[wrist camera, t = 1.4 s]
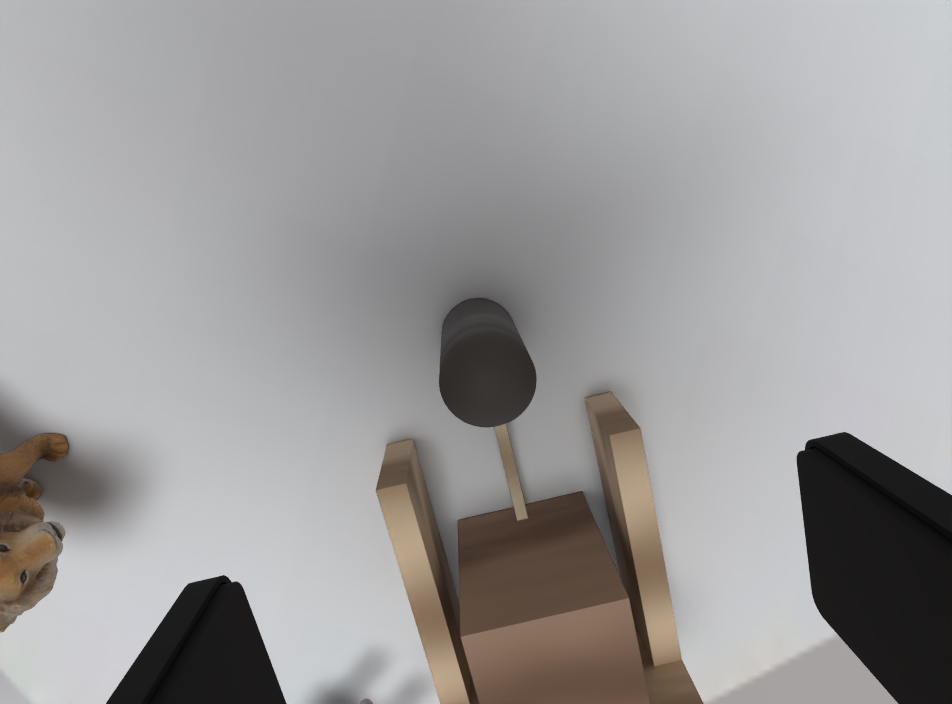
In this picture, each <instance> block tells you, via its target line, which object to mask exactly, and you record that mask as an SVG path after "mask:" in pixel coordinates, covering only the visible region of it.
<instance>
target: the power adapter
mask: <svg viewBox="0 0 952 704" xmlns="http://www.w3.org/2000/svg"><path fill="white" fill-rule="evenodd" d="M359 704H373V702H372V701H371V700H369V699H363V700H361V701H360V703H359Z"/></svg>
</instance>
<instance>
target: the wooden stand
mask: <svg viewBox="0 0 952 704" xmlns="http://www.w3.org/2000/svg"><path fill="white" fill-rule="evenodd" d="M585 401H586V406H587V411H588V415H589V420H590V425H591V430H592V435H593V440H594V445H595V450H596V455H597V460H598V465H599V470H600V475H601V480H602V485H603V490H604V495H605V500H606V505H607V510H608V515H609V520H610V525H611V530H612V535H613V540H614V545H615V550H616V555H617V560H618V564H619V569H620V574H621V579H622V583H623V586H624V588H625V590H626V592H627V595H628V597H629V600H630V606H631V611H632V616H633V621H634V626H635V631H636V636H637V641H638V646H639V651H640V656H641V661H642V666H643V671H644V676H645V681H646V686H647V691H648V696H649V701H650V704H703V702H702V700H701V698H700V696H699V694H698V692H697V689H696V687H695V685H694V683H693V681H692V679H691V677H690V675H689V673H688V671H687V669H686V667H685V665H684V663H683V661H682V658H681V652H680V647H679V641H678V635H677V630H676V624H675V619H674V613H673V608H672V602H671V596H670V591H669V585H668V580H667V574H666V569H665V563H664V558H663V552H662V546H661V541H660V535H659V530H658V524H657V519H656V513H655V508H654V502H653V496H652V491H651V485H650V480H649V474H648V469H647V463H646V458H645V452H644V446H643V441H642V435H641V430H640V427H639V426H638V425H637V424H636V422H635V421H634V420H633V419H632V417H631V416H630V415H629V414H628V412H627V411H626V410H625V409H624V407H623V406H622V405H621V404H620V402H619V401H618V400H617V399H616V397H615V396H614V395H613V394H612V392H608V393H604V394H600V395H596V396H591V397H587V398H585ZM376 493H377V496H378V499H379V503H380V506H381V509H382V513H383V516H384V519H385V523H386V526H387V529H388V532H389V536H390V539H391V542H392V546H393V549H394V552H395V555H396V559H397V562H398V565H399V569H400V572H401V575H402V579H403V582H404V585H405V588H406V592H407V595H408V598H409V602H410V605H411V608H412V612H413V615H414V618H415V621H416V625H417V628H418V631H419V635H420V638H421V641H422V644H423V648H424V651H425V654H426V658H427V661H428V664H429V668H430V671H431V674H432V677H433V681H434V684H435V687H436V691H437V694H438V697H439V701H440V704H479V700H478V697H477V693H476V690H475V686H474V683H473V679H472V676H471V672H470V669H469V665H468V662H467V658H466V654H465V651H464V647H463V644H462V640H461V637H460V606H459V602H458V599H457V595H456V592H455V588H454V584H453V581H452V577H451V574H450V570H449V567H448V563H447V559H446V556H445V552H444V549H443V545H442V542H441V538H440V534H439V531H438V527H437V524H436V520H435V517H434V513H433V509H432V506H431V502H430V499H429V495H428V492H427V488H426V485H425V481H424V477H423V474H422V470H421V467H420V463H419V460H418V456H417V452H416V449H415V445H414V442H413V439H409V440H405V441H401V442H397V443H392V444H388V445H387V447H386V451H385V455H384V459H383V463H382V467H381V471H380V475H379V479H378V483H377V487H376Z"/></svg>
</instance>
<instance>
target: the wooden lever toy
mask: <svg viewBox="0 0 952 704" xmlns="http://www.w3.org/2000/svg"><path fill="white" fill-rule="evenodd" d="M439 387H440V392H441V395H442V398H443V400H444V402H445V404H446V406H447V407H448V409H449V410H450V411H451V412H452V413H453V414H454V415H455V416H456V417H457V418H459V419H460V420H462V421H464V422H466V423H468V424H471V425H474V426H478V427H495V431H496V435H497V439H498V444H499V448H500V452H501V456H502V460H503V464H504V468H505V472H506V476H507V481H508V485H509V489H510V493H511V497H512V501H513V505H514V507H513V508H509V509H505V510H500V511H496V512H492V513H488V514H483V515H479V516H475V517H470V518H466V519H462V520H458V557H459V597H460V637H461V640H462V644H463V647H464V651H465V654H466V658H467V662H468V665H469V669H470V672H471V676H472V679H473V683H474V686H475V690H476V693H477V697H478V700H479V704H650V701H649V696H648V691H647V686H646V681H645V676H644V671H643V666H642V661H641V656H640V651H639V646H638V641H637V636H636V631H635V626H634V621H633V616H632V611H631V606H630V600H629V597H628V595H627V592H626V590H625V588H624V586H623V583H622V581H621V579H620V577H619V574H618V572H617V570H616V567H615V565H614V563H613V561H612V558H611V556H610V554H609V552H608V549H607V547H606V545H605V543H604V540H603V538H602V536H601V533H600V531H599V529H598V527H597V524H596V522H595V520H594V518H593V515H592V513H591V511H590V508H589V506H588V504H587V502H586V499H585V497H584V495H583V493H582V492H578V493H573V494H569V495H565V496H560V497H556V498H552V499H548V500H543V501H539V502H535V503H530V504H526V505H525V503H524V499H523V495H522V491H521V486H520V482H519V478H518V474H517V470H516V465H515V461H514V457H513V453H512V449H511V444H510V440H509V436H508V432H507V428H506V423H508V422H511V421H512V420H514V419H516V418H517V417H518V416H519V415H521V414H522V413H523V412H524V411H525V409H526V408H527V407H528V405H529V404H530V402H531V400H532V398H533V396H534V393H535V389H536V371H535V367H534V364H533V362H532V360H531V358H530V355H529V353H528V351H527V349H526V347H525V345H524V343H523V341H522V339H521V337H520V335H519V333H518V331H517V329H516V327H515V325H514V323H513V321H512V318H511V317H510V315H509V313H508V312H507V311H506V310H505V309H504V308H503V307H502V306H501V305H499V304H498V303H496V302H494V301H491V300H488V299H483V298H474V299H469V300H466V301H463V302H461V303H460V304H458V305H456V306H455V307H454V308H453V309H452V310H451V311H450V312H449V314H448V315H447V317H446V319H445V321H444V323H443V327H442V337H441V356H440V374H439Z"/></svg>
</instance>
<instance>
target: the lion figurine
mask: <svg viewBox="0 0 952 704" xmlns="http://www.w3.org/2000/svg"><path fill="white" fill-rule="evenodd" d="M67 450H68V444H67V442H66V437H65V436H63V435H59V434H41V435H38V436H36V437H34V438H32V439H29V440H26V441H25V442H23V443H22V444H21V445H20V446H19V447H18V448H16V449H14V450H11V451H9V452H6V453H2V454H0V632H4V631H5V629H6V628H7V627H8V626H9V625H10V624H12V623H14V621H15V620H16V618H17V616H18V615H21V614H22V613H23V612H24V611H26V610H29V609H31V608H33V607H34V606H35V605H36V604H37V603H38V602H39V601H40V600H41V599H42V598H44V597H45V596H46V595H48V594H49V593H50V591H51V590H52V588H53V585H54V582H55V579H56V575H57V571H58V569H57V565H56V563H57V561H58V556H59V555H60V553H61V552H62V549H63V544H62V540H63V538H64V536H65V529H64V528H63V526H62V525H61V524H59V523H57V522H52V521H50V522H43V518H44V511H43V509H42V507H41V506H40V505H39V504H38V503H37V502H36V501H37V500H38V498H39V496H40V495H41V493H42V489H41V487H40V486H39V485H38V484H37V483H36V482H35V481H33V480H31V479H27V478H23V477H24V476H25V475H26V473H27V472H28V471H29V470H30V469H31V468H32V467H33V465H34V464H35V462H36V461H38V460H40V459H46V460H49V461H56V460H59V459H60V458H63V457H65V456H66V455H67Z"/></svg>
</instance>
